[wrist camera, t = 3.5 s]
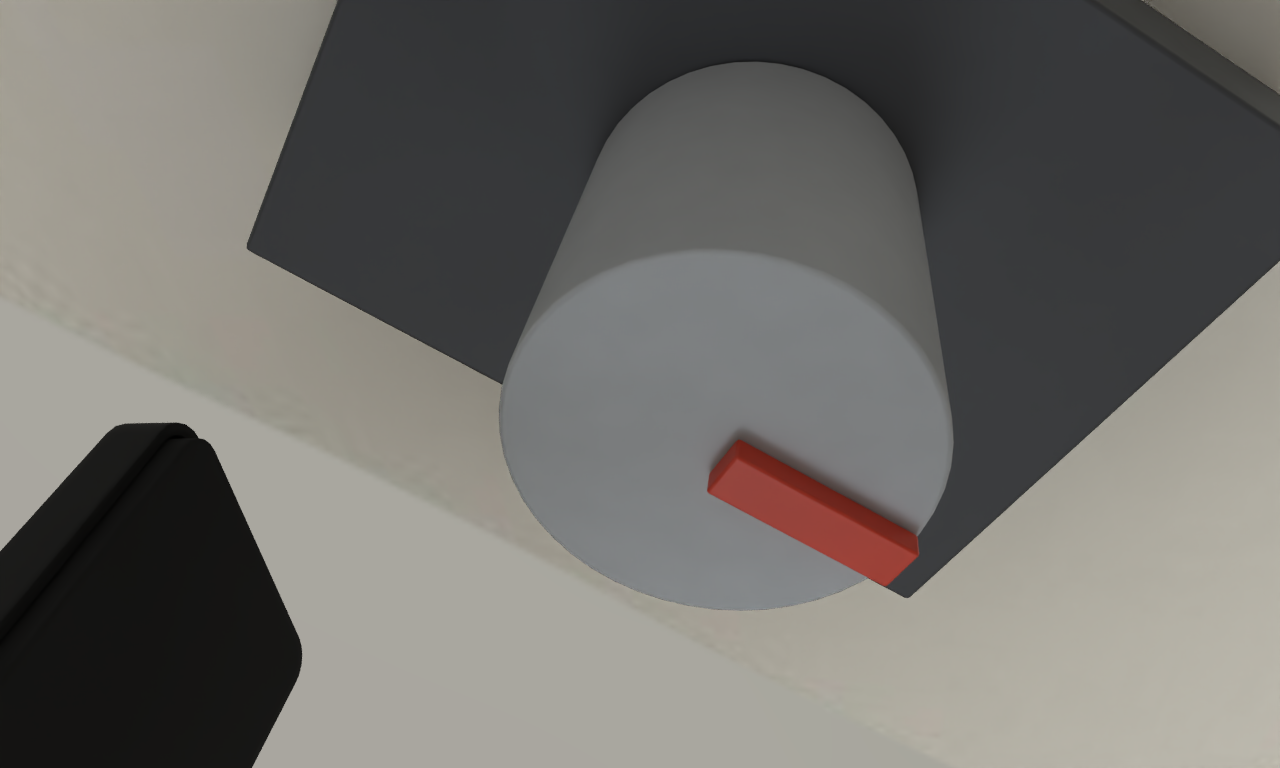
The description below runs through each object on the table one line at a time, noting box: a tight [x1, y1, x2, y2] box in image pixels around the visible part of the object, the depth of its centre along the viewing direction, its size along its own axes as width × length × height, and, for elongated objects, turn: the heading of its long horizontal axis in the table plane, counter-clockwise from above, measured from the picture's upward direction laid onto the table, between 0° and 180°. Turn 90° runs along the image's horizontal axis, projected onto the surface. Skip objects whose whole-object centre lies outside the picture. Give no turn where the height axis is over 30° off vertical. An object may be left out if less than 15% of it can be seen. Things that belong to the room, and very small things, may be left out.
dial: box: [499, 62, 954, 611], centre depth 12 cm, size 4×4×5 cm
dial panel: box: [247, 0, 1280, 598], centre depth 16 cm, size 12×9×3 cm
